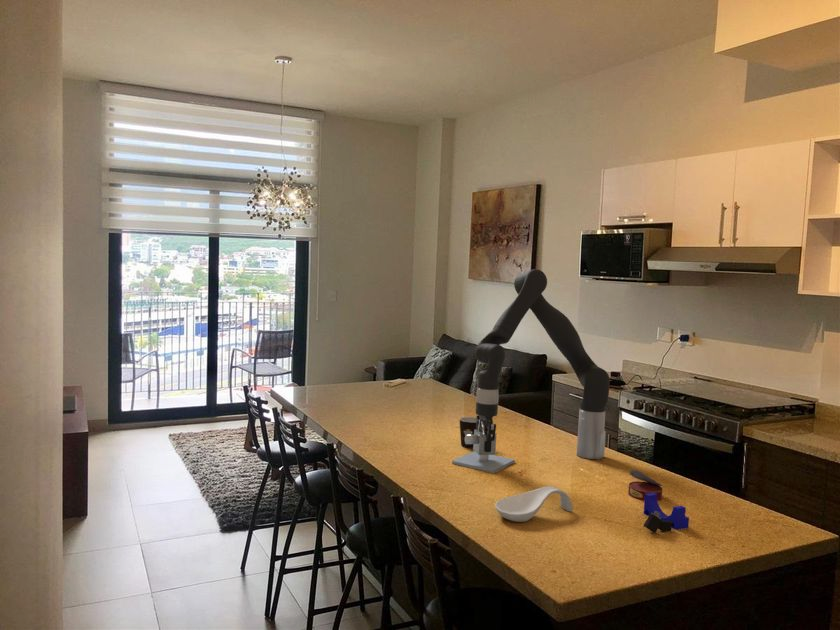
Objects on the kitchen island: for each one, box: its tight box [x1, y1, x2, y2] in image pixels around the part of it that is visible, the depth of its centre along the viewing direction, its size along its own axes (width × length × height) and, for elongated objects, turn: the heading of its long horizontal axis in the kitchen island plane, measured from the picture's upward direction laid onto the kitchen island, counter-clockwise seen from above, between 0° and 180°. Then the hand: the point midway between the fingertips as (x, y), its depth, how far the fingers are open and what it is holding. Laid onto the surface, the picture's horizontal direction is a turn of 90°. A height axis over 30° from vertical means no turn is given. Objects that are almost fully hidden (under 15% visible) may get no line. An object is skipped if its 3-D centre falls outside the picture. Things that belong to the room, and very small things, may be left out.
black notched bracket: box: [642, 511, 673, 534], centre depth 176 cm, size 8×2×5 cm
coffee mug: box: [458, 416, 476, 449], centre depth 251 cm, size 12×9×10 cm
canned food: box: [627, 469, 664, 502], centre depth 204 cm, size 11×10×10 cm
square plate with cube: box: [451, 450, 516, 474], centre depth 231 cm, size 16×16×6 cm
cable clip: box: [643, 493, 690, 531], centre depth 184 cm, size 12×4×6 cm, turn 25°
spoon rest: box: [494, 485, 574, 523], centre depth 184 cm, size 24×12×7 cm, turn 118°
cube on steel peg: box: [465, 430, 497, 455], centre depth 230 cm, size 10×6×7 cm, turn 103°
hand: (484, 448), depth 230 cm, fingers closed on cube on steel peg, 6 cm apart
